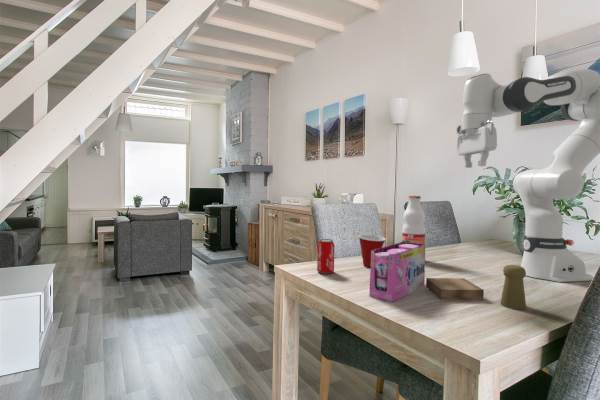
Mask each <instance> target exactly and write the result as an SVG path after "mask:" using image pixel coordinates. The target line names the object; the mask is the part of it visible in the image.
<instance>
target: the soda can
mask: <svg viewBox="0 0 600 400" xmlns="http://www.w3.org/2000/svg"><path fill="white" fill-rule="evenodd" d="M316 250H317V254H316V255H317V257H316V258H317V259H316V261H317V262H316V272H319V273H320V274H323V275H330V274H332V273H333V272H335V243H334V240H333V239H329V238H322V239H319V240H318V243H317V249H316Z"/></svg>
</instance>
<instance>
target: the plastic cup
mask: <svg viewBox="0 0 600 400" xmlns="http://www.w3.org/2000/svg"><path fill="white" fill-rule="evenodd" d="M357 237H358V240H359V244H360V252H361V259H362V264H363V267H366V268H370V267H371V251H372V250H375V249H378V248H382V247H384V244H385V241H386V239H387V238H385V237H383V236H378V235H373V234H359V235H358V236H357Z"/></svg>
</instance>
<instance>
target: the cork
mask: <svg viewBox="0 0 600 400" xmlns="http://www.w3.org/2000/svg"><path fill="white" fill-rule="evenodd" d="M502 271H503V272H502V273H503V276H504V283H503V288H502V293H501V300H500V302H499V303H500V305H501V306H502V307H504V308H507V309H510V308H513V309H512V310H517V309H524V310H526V309H527V303H526V293H525V285H524V279H525V278H526V271H525V269H524V268H523V267H521V265H517V264H507V265H505V266H504V267H503V269H502Z"/></svg>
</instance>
